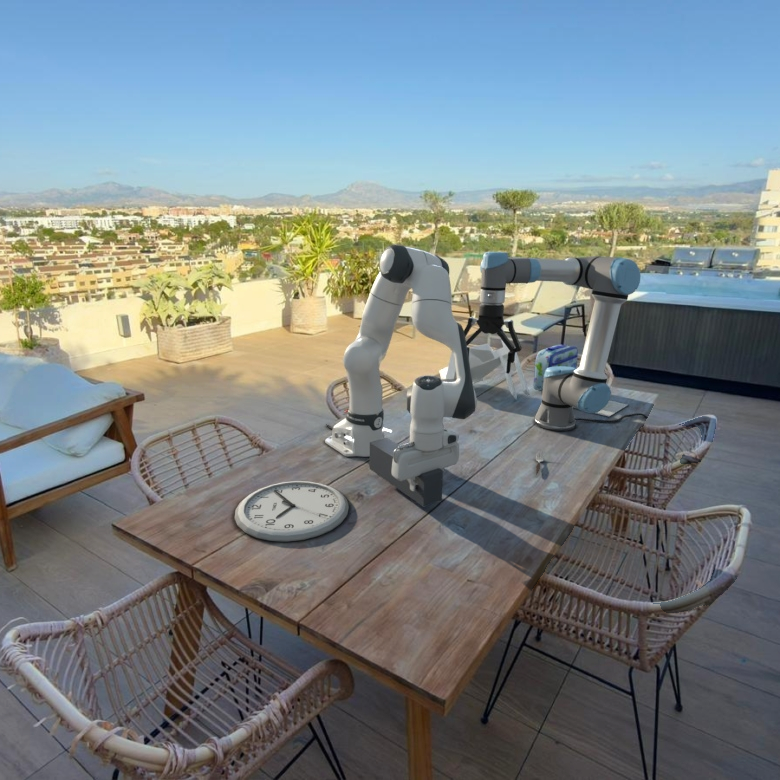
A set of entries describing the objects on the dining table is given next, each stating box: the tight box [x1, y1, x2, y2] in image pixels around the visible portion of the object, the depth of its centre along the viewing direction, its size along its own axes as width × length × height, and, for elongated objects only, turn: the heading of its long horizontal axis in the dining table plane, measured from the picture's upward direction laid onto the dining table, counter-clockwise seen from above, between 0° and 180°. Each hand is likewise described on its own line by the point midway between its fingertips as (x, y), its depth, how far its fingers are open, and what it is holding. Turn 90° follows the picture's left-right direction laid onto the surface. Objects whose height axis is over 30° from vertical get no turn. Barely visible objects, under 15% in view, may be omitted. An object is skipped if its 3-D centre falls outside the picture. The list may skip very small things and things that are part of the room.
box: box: [369, 437, 444, 508], centre depth 148 cm, size 27×6×9 cm, turn 34°
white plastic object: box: [438, 326, 531, 400], centre depth 245 cm, size 37×45×31 cm
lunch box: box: [533, 344, 579, 392], centre depth 247 cm, size 26×11×21 cm, turn 134°
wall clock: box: [234, 480, 350, 543], centre depth 140 cm, size 30×2×30 cm
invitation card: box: [573, 400, 629, 418], centre depth 226 cm, size 21×1×15 cm
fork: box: [535, 451, 546, 476], centre depth 168 cm, size 3×16×2 cm, turn 160°
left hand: (425, 486), depth 140 cm, fingers closed on box, 6 cm apart
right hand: (486, 370), depth 168 cm, fingers open, 13 cm apart
